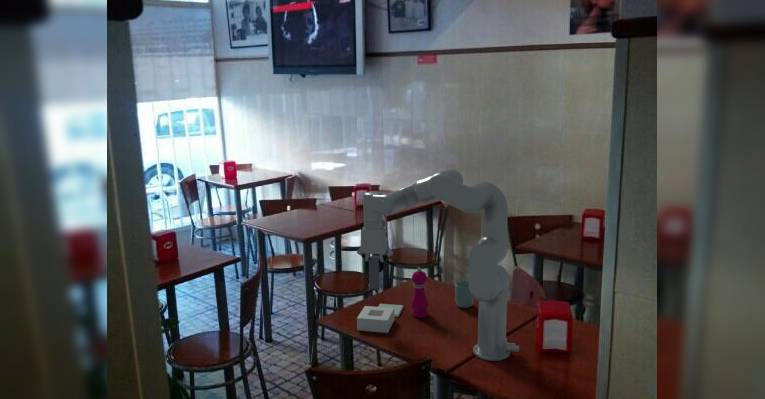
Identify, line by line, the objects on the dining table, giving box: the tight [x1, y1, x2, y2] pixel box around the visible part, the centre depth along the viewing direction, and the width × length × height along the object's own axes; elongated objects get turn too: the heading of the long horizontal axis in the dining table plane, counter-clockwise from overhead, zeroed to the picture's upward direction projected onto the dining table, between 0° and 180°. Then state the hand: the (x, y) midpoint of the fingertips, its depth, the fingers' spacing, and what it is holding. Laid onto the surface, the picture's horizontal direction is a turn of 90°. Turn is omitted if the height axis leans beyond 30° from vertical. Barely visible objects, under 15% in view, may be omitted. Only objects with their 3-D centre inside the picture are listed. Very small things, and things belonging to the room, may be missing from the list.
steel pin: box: [368, 255, 383, 290], centre depth 221 cm, size 4×4×12 cm
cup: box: [454, 280, 475, 309], centre depth 241 cm, size 8×8×10 cm
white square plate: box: [377, 303, 404, 318], centre depth 239 cm, size 10×10×1 cm
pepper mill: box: [410, 267, 429, 319], centre depth 233 cm, size 7×7×20 cm
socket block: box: [356, 305, 395, 334], centre depth 225 cm, size 12×12×5 cm
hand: (375, 270), depth 221 cm, fingers closed on steel pin, 4 cm apart
